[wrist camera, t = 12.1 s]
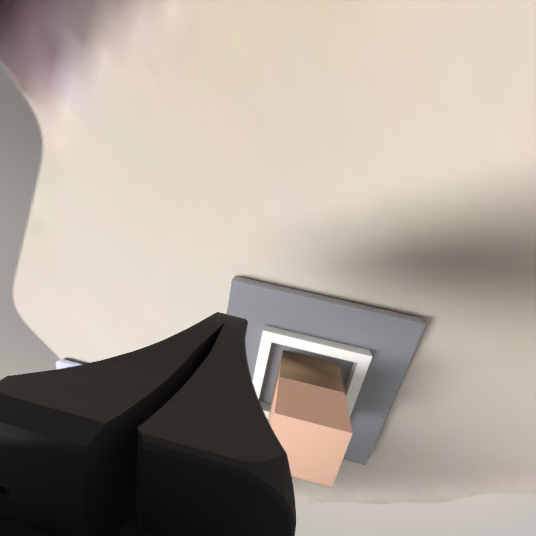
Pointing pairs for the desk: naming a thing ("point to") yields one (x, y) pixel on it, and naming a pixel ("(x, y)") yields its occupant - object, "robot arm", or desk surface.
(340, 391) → the brick stack
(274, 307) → the base plate
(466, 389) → the desk surface
